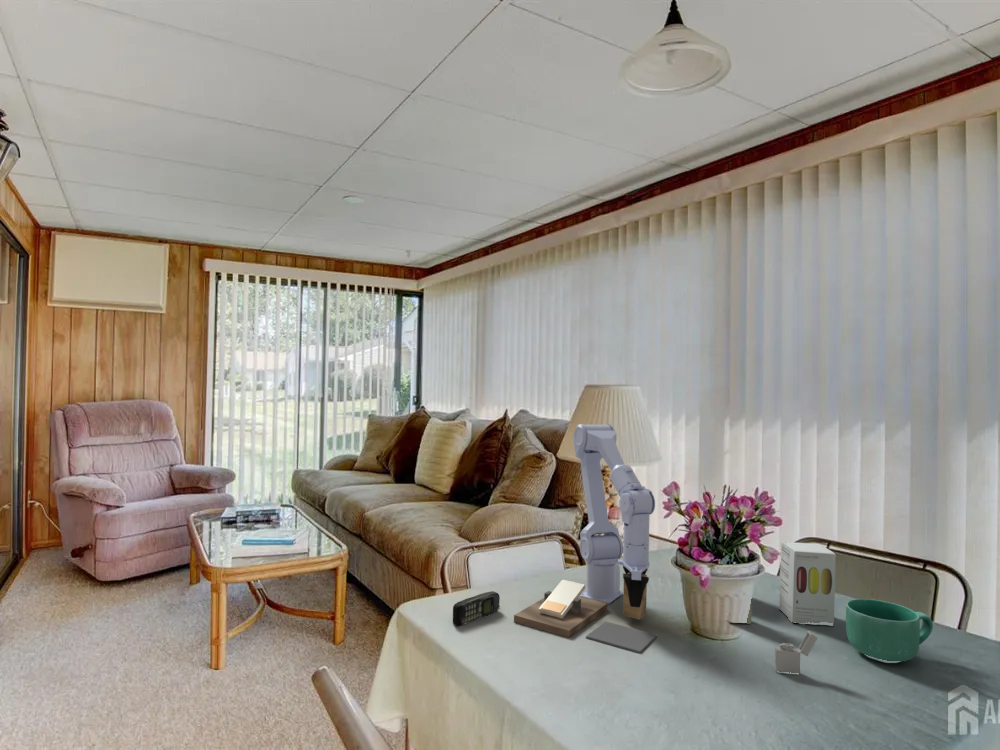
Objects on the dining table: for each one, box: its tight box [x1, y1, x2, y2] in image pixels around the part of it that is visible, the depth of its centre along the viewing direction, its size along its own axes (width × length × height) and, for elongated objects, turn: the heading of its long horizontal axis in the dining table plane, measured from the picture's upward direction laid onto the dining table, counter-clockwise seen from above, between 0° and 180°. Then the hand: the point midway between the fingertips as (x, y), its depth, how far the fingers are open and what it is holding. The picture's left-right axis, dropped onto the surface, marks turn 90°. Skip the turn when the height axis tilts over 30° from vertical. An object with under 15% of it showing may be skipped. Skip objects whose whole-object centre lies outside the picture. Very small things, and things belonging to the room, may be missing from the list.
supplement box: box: [778, 541, 837, 624], centre depth 141 cm, size 10×9×17 cm
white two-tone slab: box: [539, 579, 586, 619], centre depth 139 cm, size 12×6×1 cm, turn 146°
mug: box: [845, 598, 934, 662], centre depth 121 cm, size 17×13×10 cm
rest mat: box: [585, 621, 658, 654], centre depth 128 cm, size 10×12×1 cm
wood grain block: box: [622, 571, 648, 620], centre depth 136 cm, size 4×4×10 cm
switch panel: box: [513, 590, 609, 638], centre depth 139 cm, size 20×14×4 cm
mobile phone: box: [452, 590, 501, 627], centre depth 137 cm, size 5×3×15 cm
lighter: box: [774, 630, 819, 674], centre depth 113 cm, size 7×2×8 cm, turn 78°
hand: (634, 601), depth 136 cm, fingers closed on wood grain block, 5 cm apart
